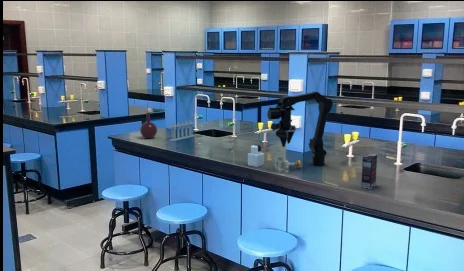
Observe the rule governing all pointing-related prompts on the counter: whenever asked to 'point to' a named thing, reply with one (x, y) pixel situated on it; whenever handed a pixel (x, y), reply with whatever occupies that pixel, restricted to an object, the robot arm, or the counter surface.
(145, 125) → the round-bottom flask
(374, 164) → the supplement box
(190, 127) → the test tube rack
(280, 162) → the block
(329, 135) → the counter surface
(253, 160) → the medicine bottle
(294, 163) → the pin
